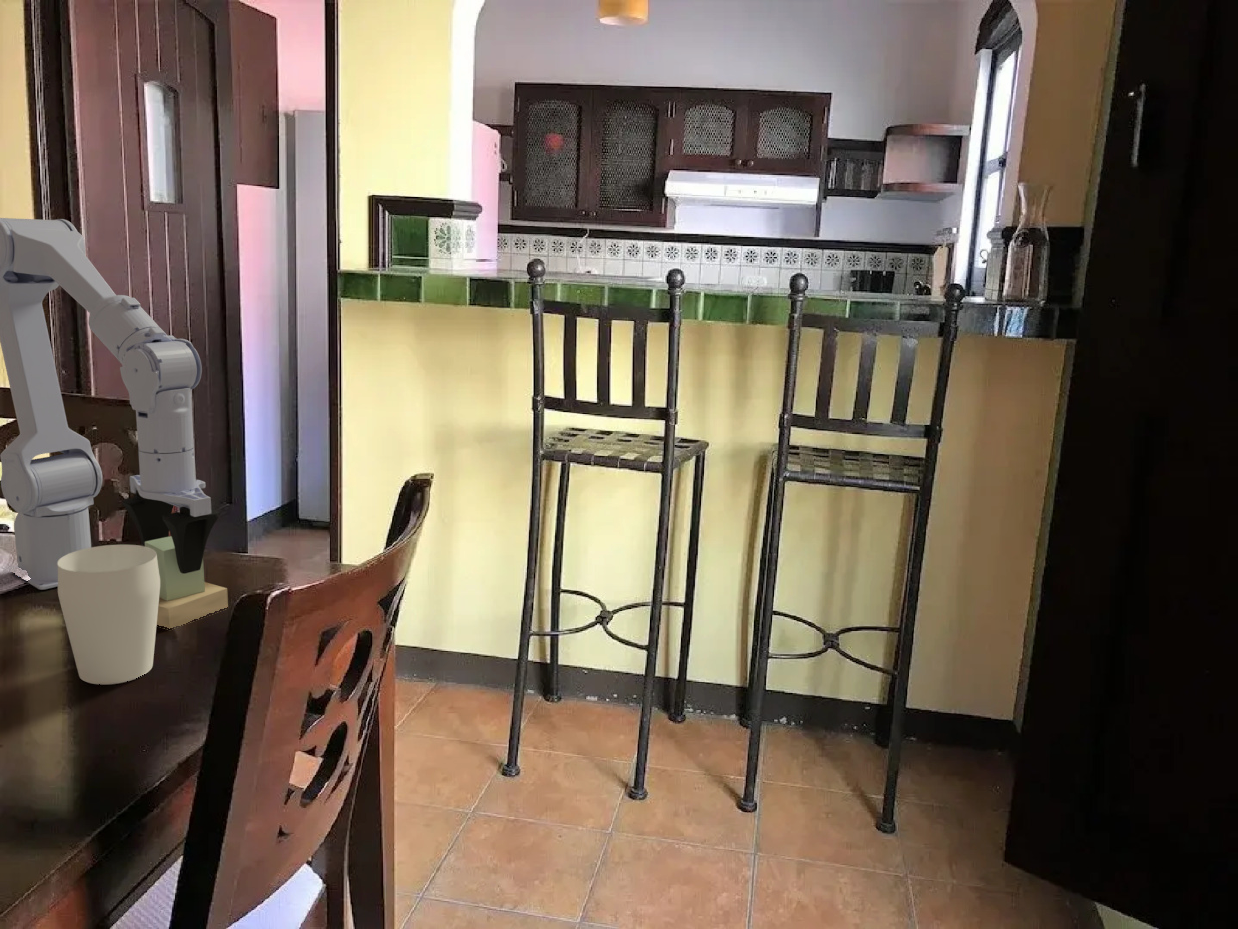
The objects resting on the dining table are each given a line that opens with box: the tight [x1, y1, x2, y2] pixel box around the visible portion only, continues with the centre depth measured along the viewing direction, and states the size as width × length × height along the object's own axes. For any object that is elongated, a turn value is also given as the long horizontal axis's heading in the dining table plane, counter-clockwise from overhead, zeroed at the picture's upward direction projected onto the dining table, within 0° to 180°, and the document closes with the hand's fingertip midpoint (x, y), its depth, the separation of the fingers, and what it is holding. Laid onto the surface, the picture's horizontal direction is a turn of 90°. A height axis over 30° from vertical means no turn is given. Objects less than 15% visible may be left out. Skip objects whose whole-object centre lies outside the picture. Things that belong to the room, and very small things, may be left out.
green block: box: [145, 535, 206, 601], centre depth 114 cm, size 4×4×6 cm
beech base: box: [157, 581, 229, 629], centre depth 115 cm, size 8×8×3 cm
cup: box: [57, 544, 160, 686], centre depth 98 cm, size 9×9×12 cm
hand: (173, 563), depth 114 cm, fingers open, 7 cm apart
